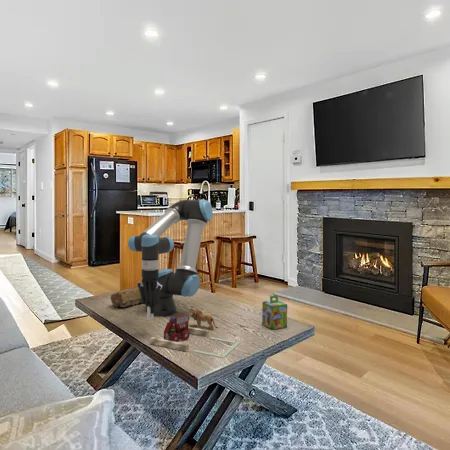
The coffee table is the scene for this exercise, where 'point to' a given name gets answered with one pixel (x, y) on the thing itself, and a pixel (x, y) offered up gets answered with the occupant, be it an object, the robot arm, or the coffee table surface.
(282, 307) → the chalk box
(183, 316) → the toy fire truck
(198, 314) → the lion figurine
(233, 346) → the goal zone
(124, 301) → the petrified wood
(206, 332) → the lane walls
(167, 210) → the robot arm
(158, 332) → the coffee table surface
